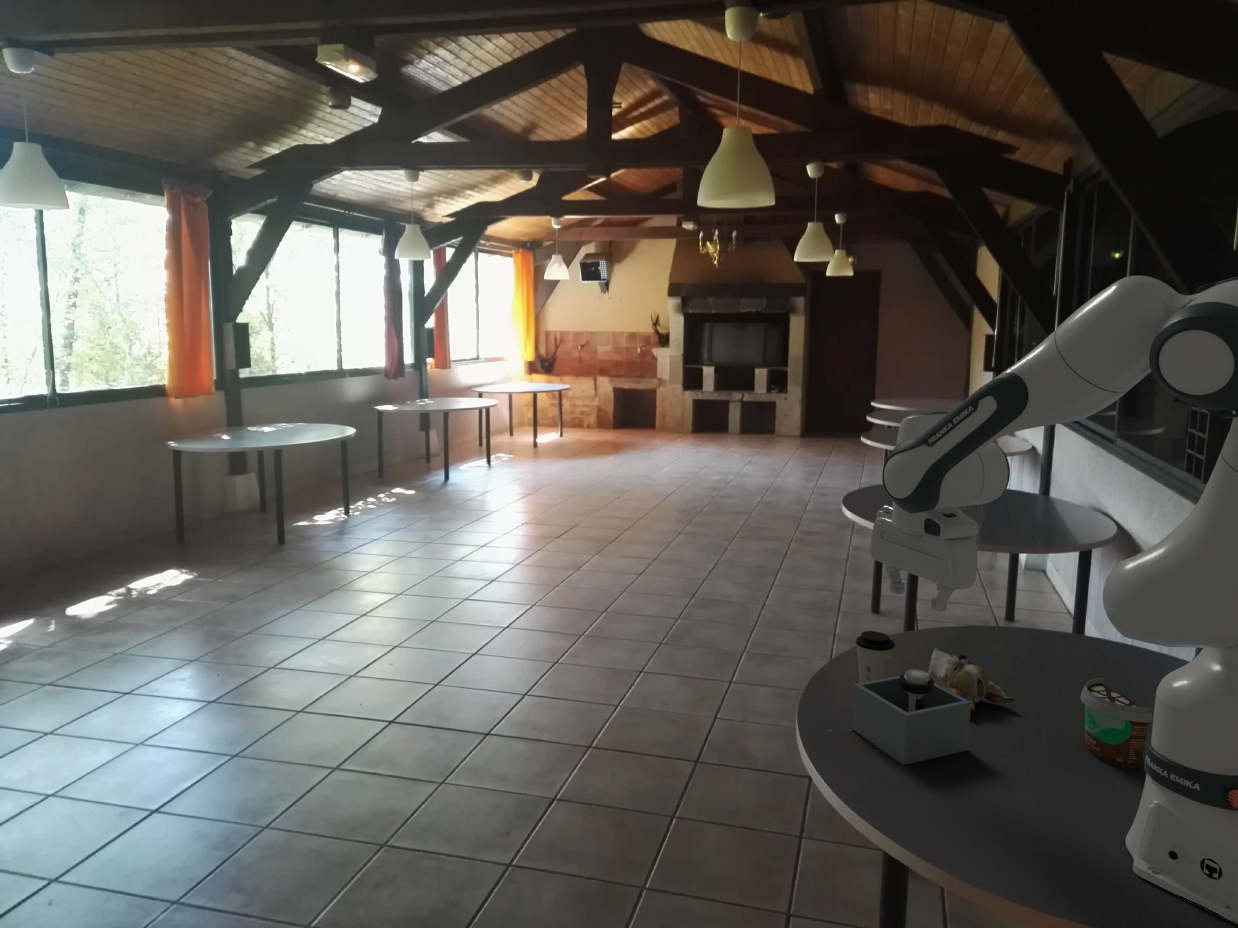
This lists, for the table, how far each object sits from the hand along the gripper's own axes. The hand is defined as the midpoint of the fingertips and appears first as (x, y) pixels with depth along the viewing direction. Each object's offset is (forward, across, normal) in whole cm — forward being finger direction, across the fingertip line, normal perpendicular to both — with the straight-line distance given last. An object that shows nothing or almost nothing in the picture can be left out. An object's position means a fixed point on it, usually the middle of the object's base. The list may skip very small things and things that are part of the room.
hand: (917, 601), depth 137 cm
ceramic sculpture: (+24, -9, +19) cm, 32 cm away
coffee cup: (+23, -19, +8) cm, 31 cm away
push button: (+22, 0, 0) cm, 22 cm away
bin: (+23, 0, 0) cm, 23 cm away
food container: (+24, +15, +25) cm, 37 cm away
